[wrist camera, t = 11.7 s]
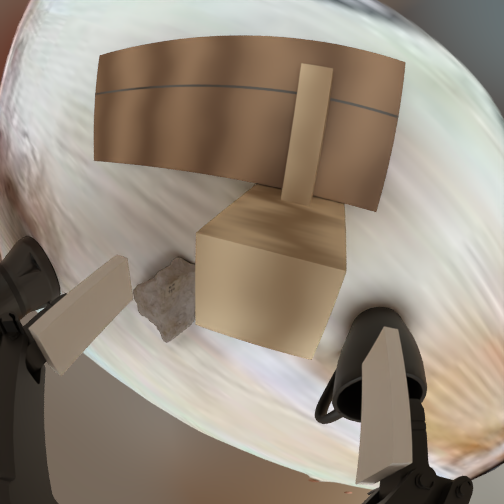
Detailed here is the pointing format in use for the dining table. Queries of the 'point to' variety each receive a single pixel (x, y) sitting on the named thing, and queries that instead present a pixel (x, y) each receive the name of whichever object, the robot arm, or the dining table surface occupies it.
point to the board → (247, 110)
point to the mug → (353, 355)
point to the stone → (169, 298)
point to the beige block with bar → (277, 245)
